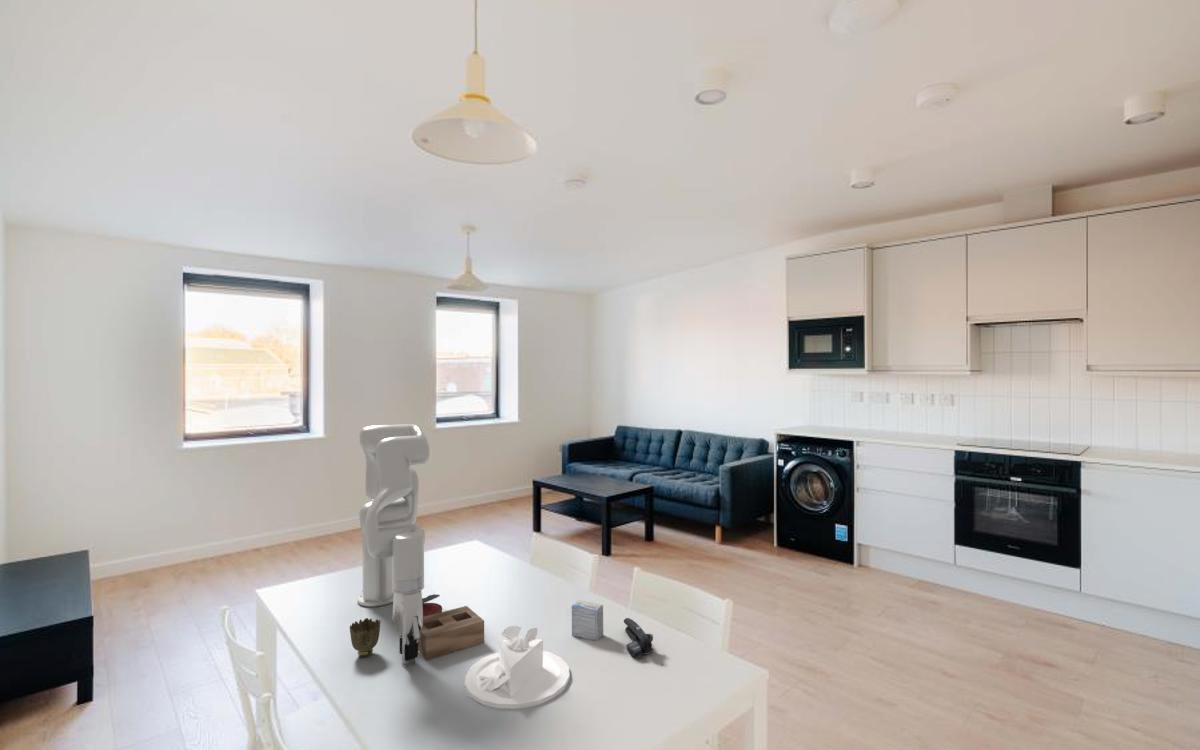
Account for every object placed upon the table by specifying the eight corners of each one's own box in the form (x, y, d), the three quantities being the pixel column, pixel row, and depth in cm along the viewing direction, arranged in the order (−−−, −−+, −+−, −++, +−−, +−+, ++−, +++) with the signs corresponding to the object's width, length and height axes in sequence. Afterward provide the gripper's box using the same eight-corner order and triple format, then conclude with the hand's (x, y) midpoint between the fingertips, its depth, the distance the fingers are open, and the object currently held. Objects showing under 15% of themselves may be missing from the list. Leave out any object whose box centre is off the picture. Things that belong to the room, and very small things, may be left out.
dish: (478, 653, 150) (478, 610, 150) (573, 654, 149) (573, 611, 149) (451, 709, 125) (450, 657, 125) (564, 711, 124) (564, 659, 124)
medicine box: (603, 635, 159) (603, 604, 159) (597, 641, 155) (597, 610, 155) (578, 629, 163) (578, 599, 163) (571, 636, 159) (571, 605, 158)
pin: (400, 662, 144) (400, 627, 144) (413, 659, 146) (413, 624, 146) (404, 668, 142) (404, 632, 141) (417, 664, 143) (417, 628, 143)
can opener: (657, 659, 146) (657, 637, 146) (631, 662, 145) (631, 640, 145) (639, 628, 164) (639, 608, 164) (615, 630, 162) (615, 610, 162)
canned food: (413, 642, 165) (396, 615, 163) (417, 623, 174) (400, 597, 172) (449, 622, 166) (432, 594, 164) (451, 604, 176) (435, 578, 174)
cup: (386, 650, 151) (386, 620, 151) (366, 663, 144) (366, 632, 144) (363, 645, 153) (363, 616, 153) (343, 658, 146) (343, 627, 146)
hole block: (410, 642, 155) (410, 620, 155) (466, 626, 164) (466, 605, 164) (425, 660, 145) (425, 637, 145) (484, 642, 155) (484, 620, 155)
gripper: (383, 576, 148) (384, 647, 148) (403, 597, 135) (403, 674, 135) (412, 570, 152) (413, 639, 153) (434, 589, 139) (435, 664, 139)
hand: (408, 654), depth 144 cm, fingers closed on pin, 3 cm apart
